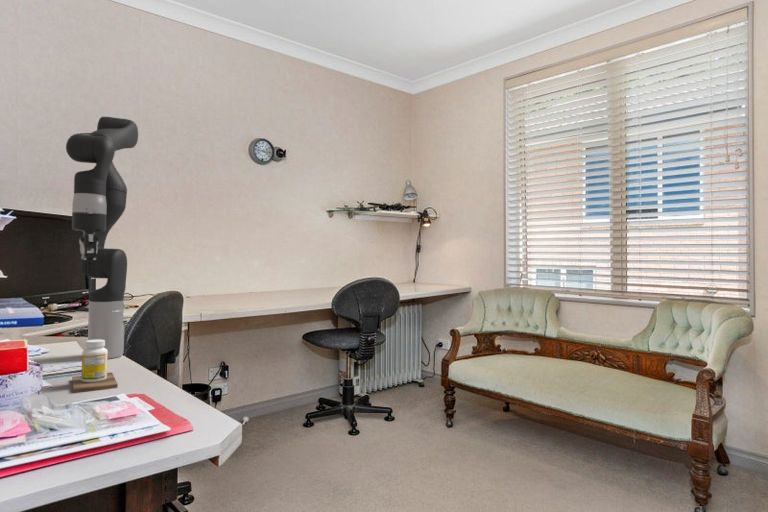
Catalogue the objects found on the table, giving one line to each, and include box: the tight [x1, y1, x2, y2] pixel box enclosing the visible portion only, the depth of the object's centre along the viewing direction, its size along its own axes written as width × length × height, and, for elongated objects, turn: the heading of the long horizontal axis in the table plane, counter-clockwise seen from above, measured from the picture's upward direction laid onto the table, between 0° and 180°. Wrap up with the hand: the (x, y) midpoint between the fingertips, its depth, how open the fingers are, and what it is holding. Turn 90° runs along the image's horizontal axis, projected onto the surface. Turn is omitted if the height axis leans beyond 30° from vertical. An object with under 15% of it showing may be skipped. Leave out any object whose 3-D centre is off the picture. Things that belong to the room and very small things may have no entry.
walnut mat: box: [71, 372, 118, 394], centre depth 113 cm, size 13×9×1 cm, turn 35°
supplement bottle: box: [80, 339, 108, 383], centre depth 113 cm, size 5×5×10 cm
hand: (87, 274), depth 121 cm, fingers open, 8 cm apart
